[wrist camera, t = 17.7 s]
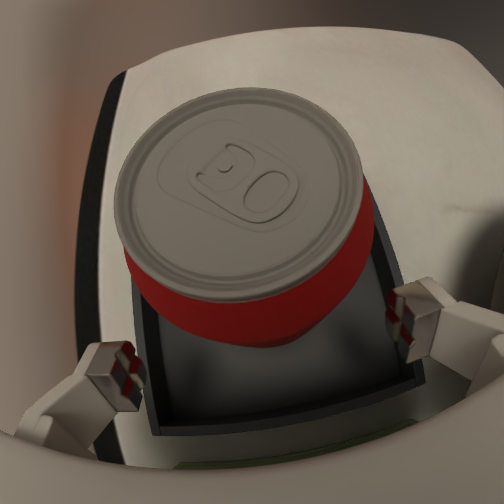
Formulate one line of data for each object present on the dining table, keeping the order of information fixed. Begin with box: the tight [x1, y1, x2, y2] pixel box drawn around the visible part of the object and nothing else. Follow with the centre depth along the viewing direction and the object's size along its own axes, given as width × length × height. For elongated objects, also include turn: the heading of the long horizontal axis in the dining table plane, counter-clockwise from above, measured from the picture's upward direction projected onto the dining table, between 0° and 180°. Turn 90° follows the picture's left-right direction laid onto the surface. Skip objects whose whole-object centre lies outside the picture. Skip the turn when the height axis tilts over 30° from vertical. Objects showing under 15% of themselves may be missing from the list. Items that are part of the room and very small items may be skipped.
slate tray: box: [131, 174, 425, 436], centre depth 16 cm, size 15×15×3 cm
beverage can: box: [114, 88, 374, 348], centre depth 11 cm, size 7×7×12 cm
